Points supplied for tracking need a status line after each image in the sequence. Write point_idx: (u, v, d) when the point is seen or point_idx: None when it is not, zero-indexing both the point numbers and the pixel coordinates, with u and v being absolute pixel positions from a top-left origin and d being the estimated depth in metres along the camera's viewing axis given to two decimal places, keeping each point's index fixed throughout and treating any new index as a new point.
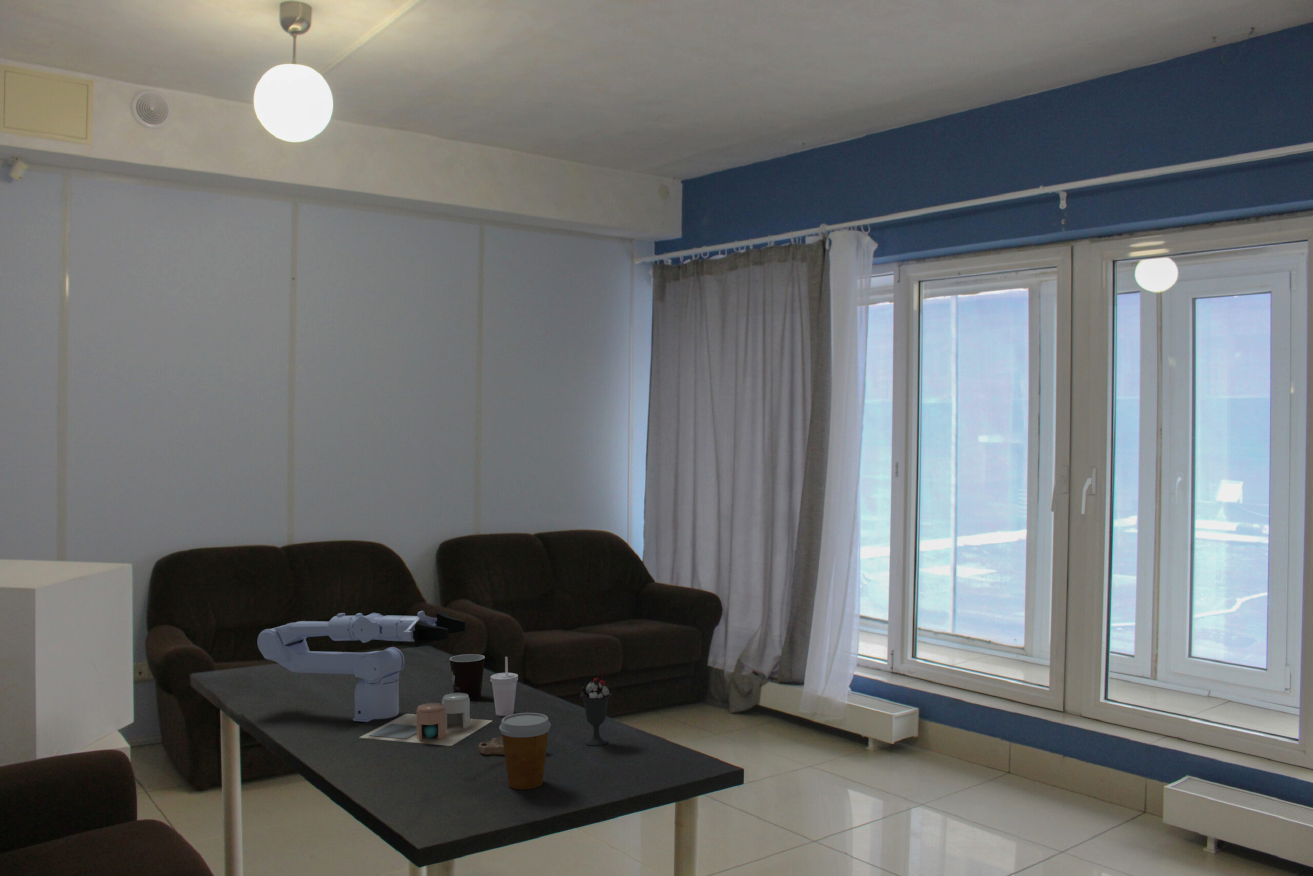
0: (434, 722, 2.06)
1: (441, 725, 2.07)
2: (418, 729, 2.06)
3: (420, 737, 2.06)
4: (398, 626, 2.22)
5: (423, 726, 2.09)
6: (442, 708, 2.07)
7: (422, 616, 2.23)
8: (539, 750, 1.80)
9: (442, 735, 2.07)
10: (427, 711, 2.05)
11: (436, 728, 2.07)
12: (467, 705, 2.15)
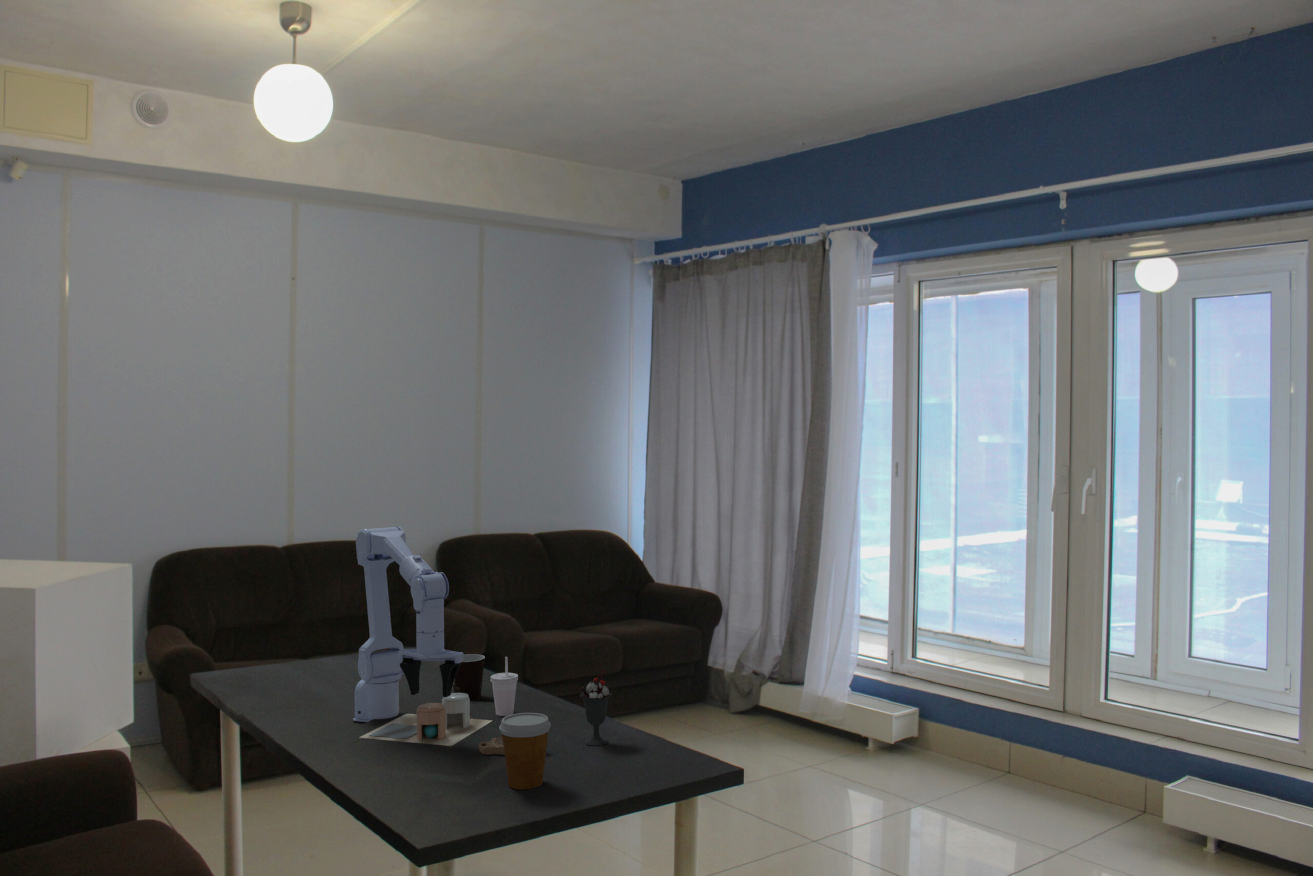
0: (434, 722, 2.06)
1: (441, 725, 2.07)
2: (418, 729, 2.06)
3: (420, 737, 2.06)
4: (416, 632, 2.08)
5: (423, 726, 2.09)
6: (442, 708, 2.07)
7: None
8: (539, 750, 1.80)
9: (442, 735, 2.07)
10: (427, 711, 2.05)
11: (436, 728, 2.07)
12: (467, 705, 2.15)
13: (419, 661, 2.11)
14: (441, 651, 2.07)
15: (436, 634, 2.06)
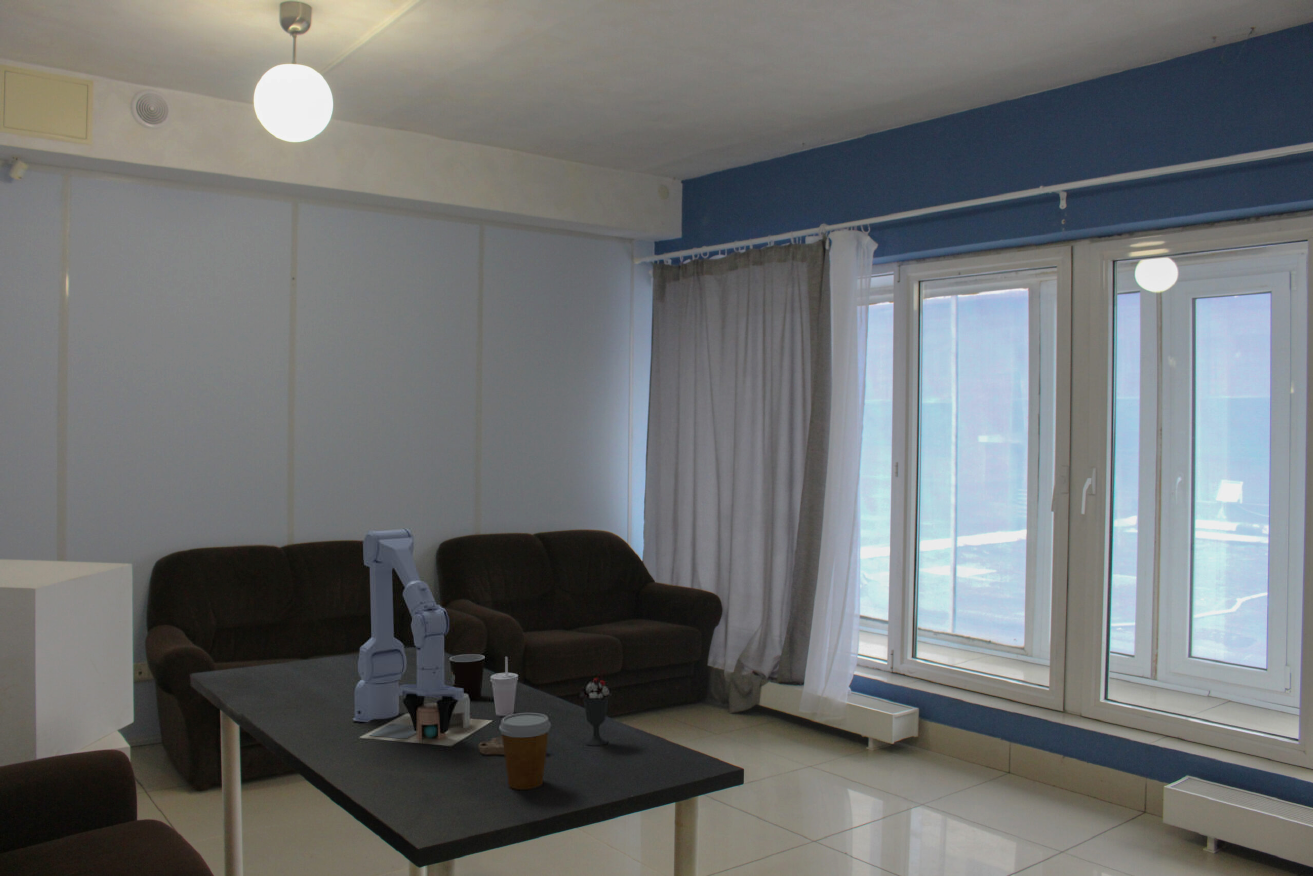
0: (434, 722, 2.06)
1: None
2: (418, 729, 2.06)
3: (420, 737, 2.06)
4: (417, 668, 2.08)
5: (423, 726, 2.09)
6: None
7: None
8: (539, 750, 1.80)
9: (442, 735, 2.07)
10: (427, 711, 2.05)
11: (436, 728, 2.07)
12: (467, 705, 2.15)
13: (422, 697, 2.11)
14: (441, 687, 2.07)
15: (436, 670, 2.06)
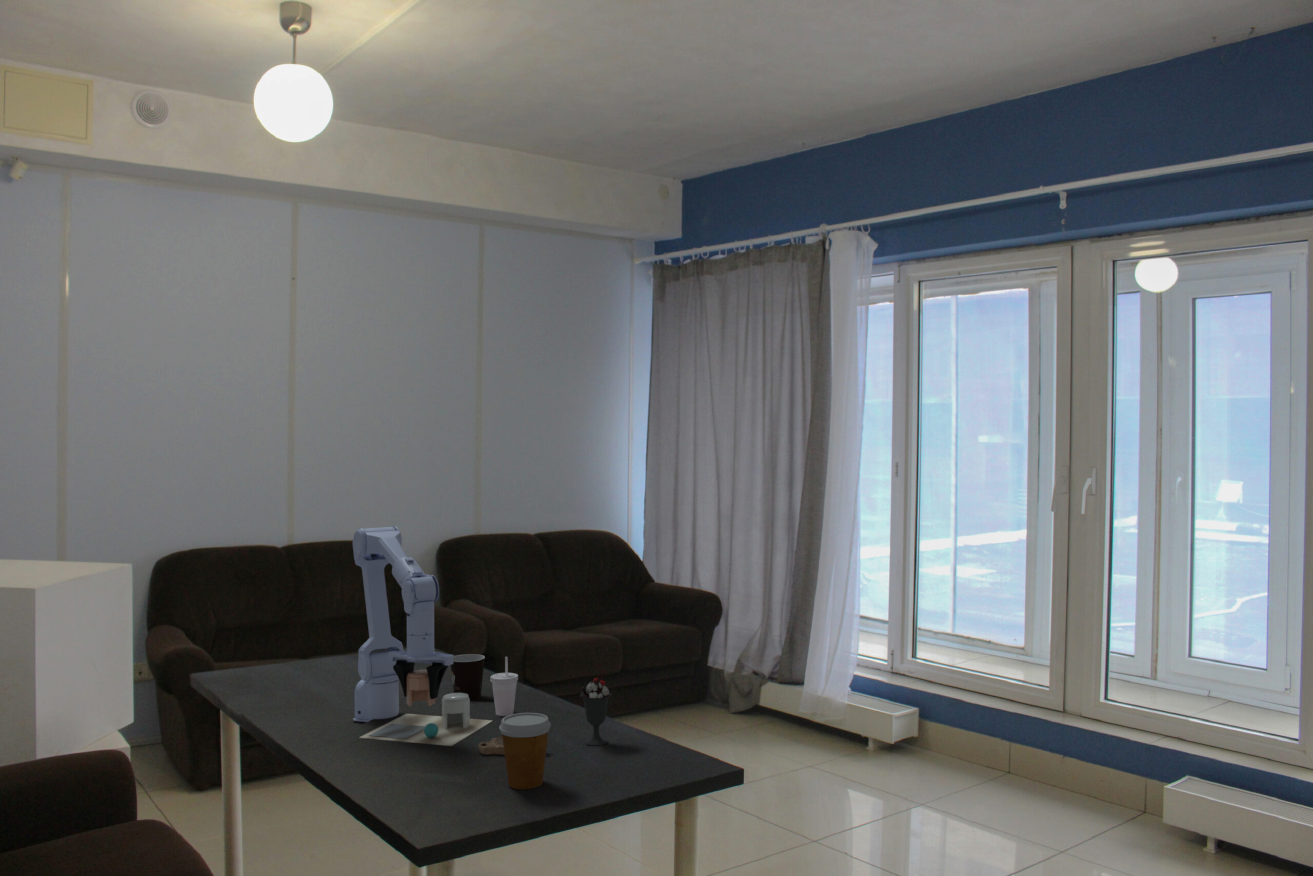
0: (424, 688, 2.07)
1: None
2: (408, 695, 2.08)
3: (410, 703, 2.07)
4: (407, 634, 2.09)
5: (413, 692, 2.11)
6: None
7: None
8: (539, 750, 1.80)
9: (432, 701, 2.08)
10: (417, 677, 2.07)
11: (436, 728, 2.07)
12: (467, 705, 2.15)
13: (412, 663, 2.12)
14: (431, 653, 2.08)
15: (426, 636, 2.07)
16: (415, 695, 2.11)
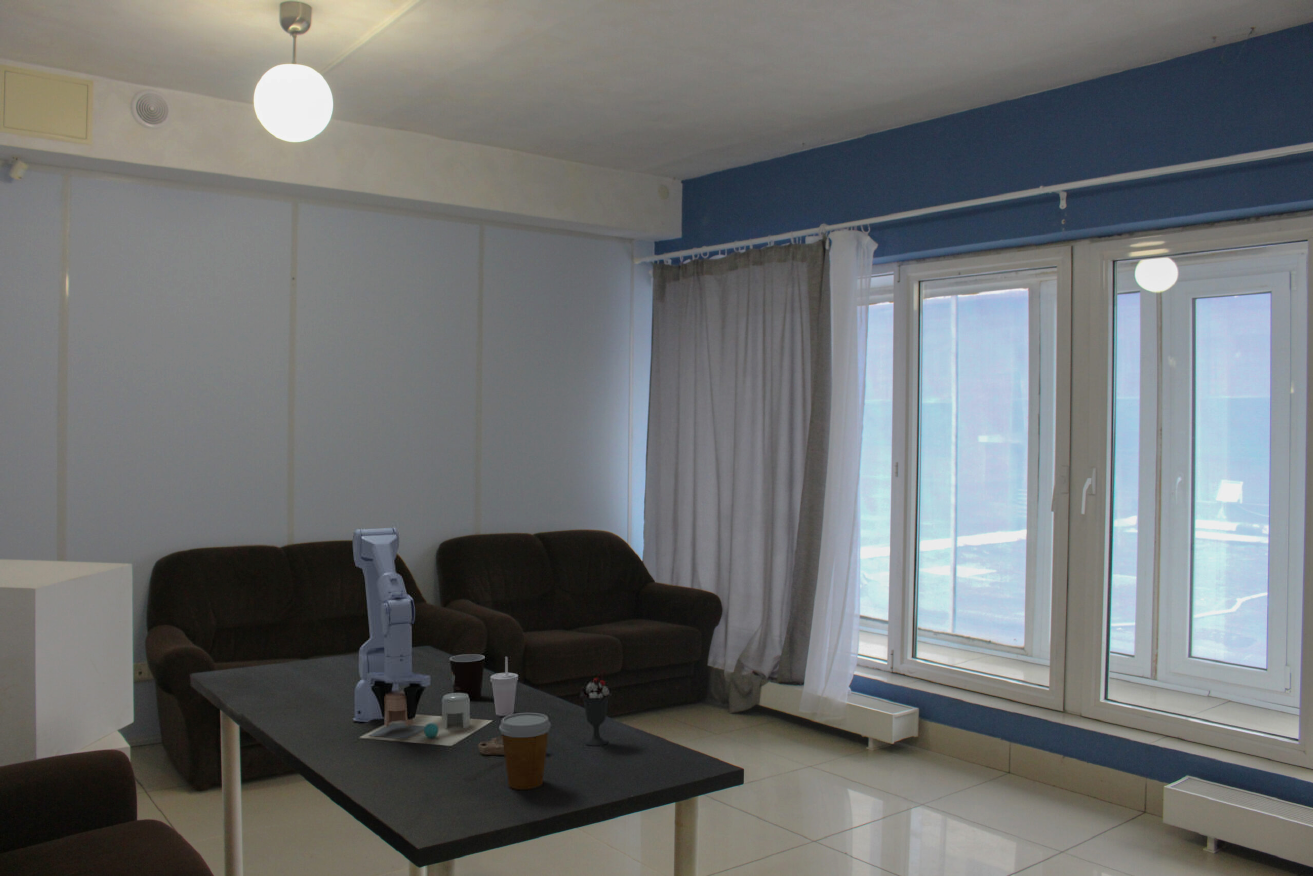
0: (401, 708, 2.10)
1: None
2: (386, 715, 2.11)
3: (387, 723, 2.10)
4: None
5: (391, 713, 2.14)
6: None
7: None
8: (539, 750, 1.80)
9: (409, 721, 2.11)
10: (394, 698, 2.10)
11: (436, 728, 2.07)
12: (467, 705, 2.15)
13: (391, 684, 2.15)
14: (409, 674, 2.11)
15: (403, 658, 2.10)
16: (393, 715, 2.14)
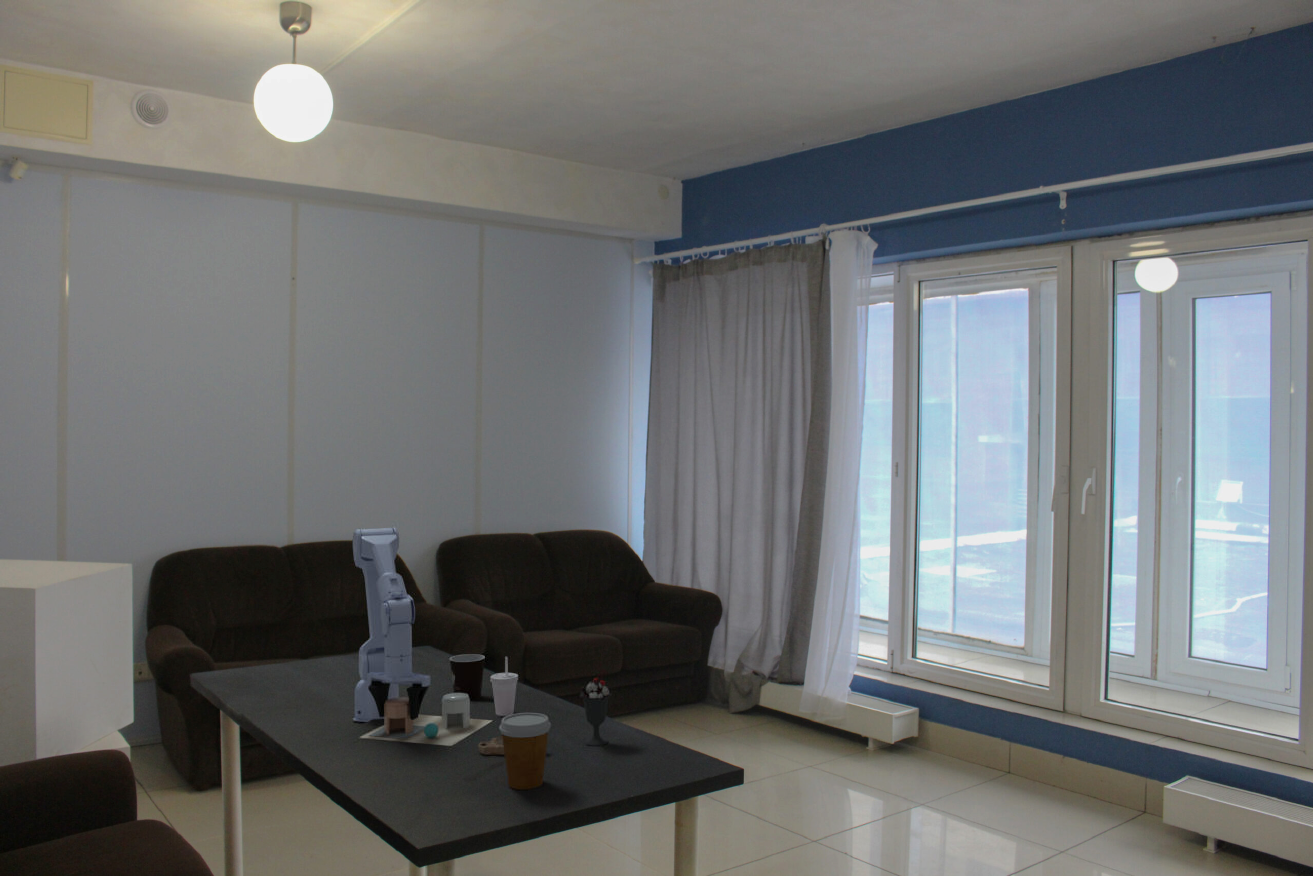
0: (401, 716, 2.10)
1: (408, 719, 2.11)
2: (386, 723, 2.11)
3: (388, 730, 2.10)
4: None
5: (391, 720, 2.14)
6: None
7: None
8: (539, 750, 1.80)
9: (409, 729, 2.11)
10: (394, 705, 2.10)
11: (436, 728, 2.07)
12: (467, 705, 2.15)
13: (388, 684, 2.15)
14: (409, 674, 2.11)
15: (403, 657, 2.10)
16: (393, 722, 2.14)
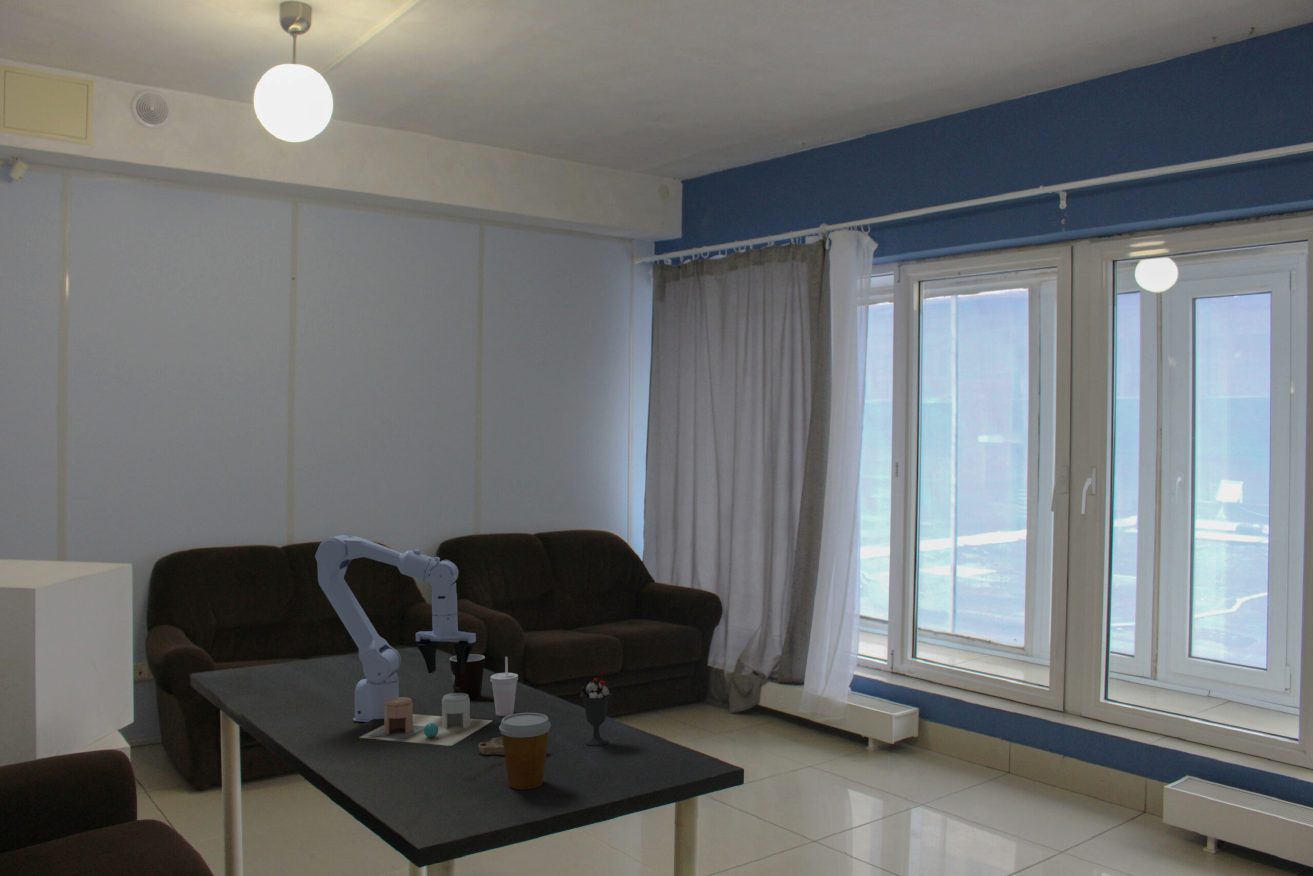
0: (401, 716, 2.10)
1: (408, 719, 2.11)
2: (386, 723, 2.11)
3: (388, 730, 2.10)
4: (432, 615, 2.26)
5: (391, 720, 2.14)
6: (409, 702, 2.12)
7: None
8: (539, 750, 1.80)
9: (409, 729, 2.11)
10: (394, 705, 2.10)
11: (436, 728, 2.07)
12: (467, 705, 2.15)
13: (435, 642, 2.29)
14: (455, 632, 2.25)
15: (450, 616, 2.24)
16: (393, 722, 2.14)
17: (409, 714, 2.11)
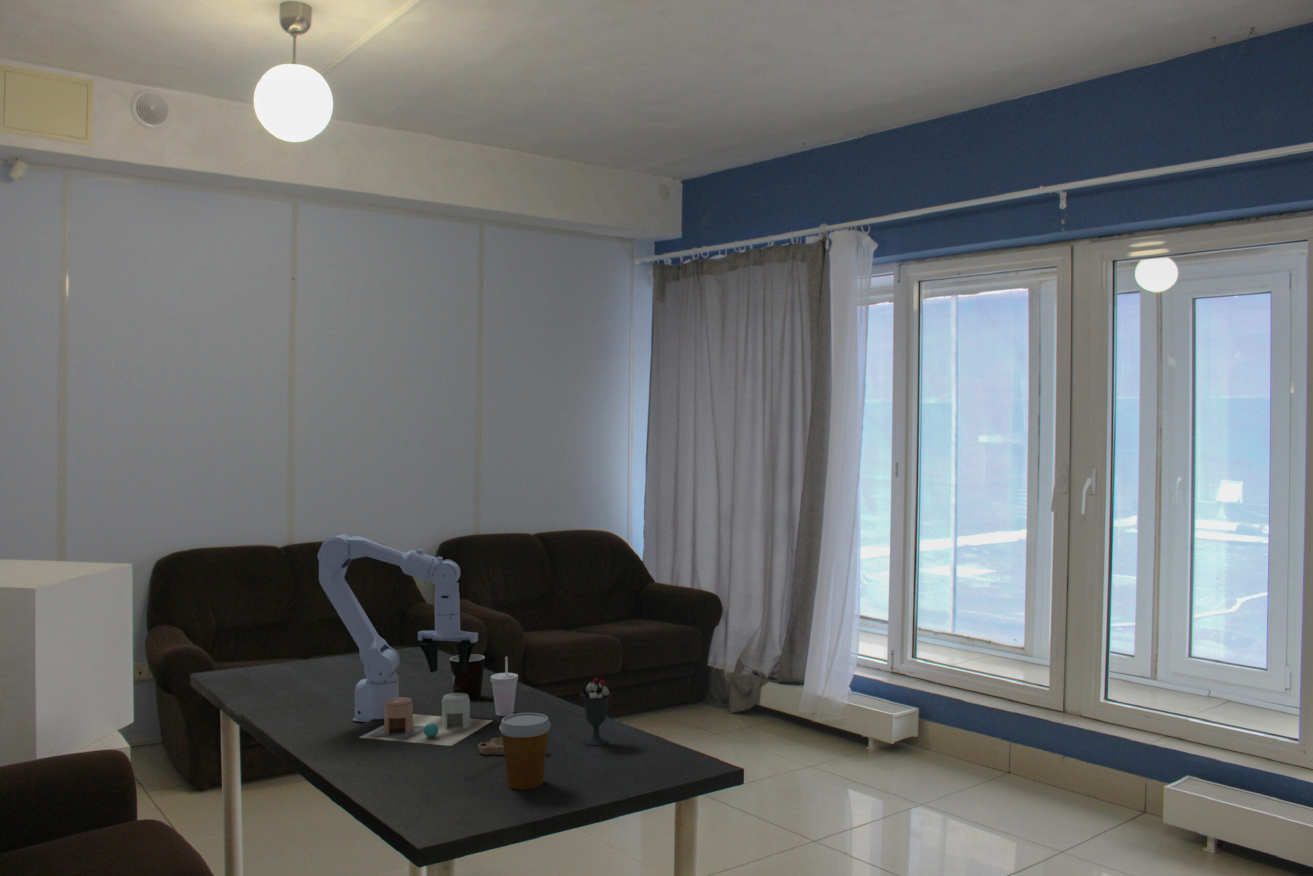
0: (401, 716, 2.10)
1: (408, 719, 2.11)
2: (386, 723, 2.11)
3: (388, 730, 2.10)
4: (435, 614, 2.27)
5: (391, 720, 2.14)
6: (409, 702, 2.12)
7: None
8: (539, 750, 1.80)
9: (409, 729, 2.11)
10: (394, 705, 2.10)
11: (436, 728, 2.07)
12: (467, 705, 2.15)
13: (437, 641, 2.30)
14: (457, 632, 2.26)
15: (453, 616, 2.25)
16: (393, 722, 2.14)
17: (409, 714, 2.11)
